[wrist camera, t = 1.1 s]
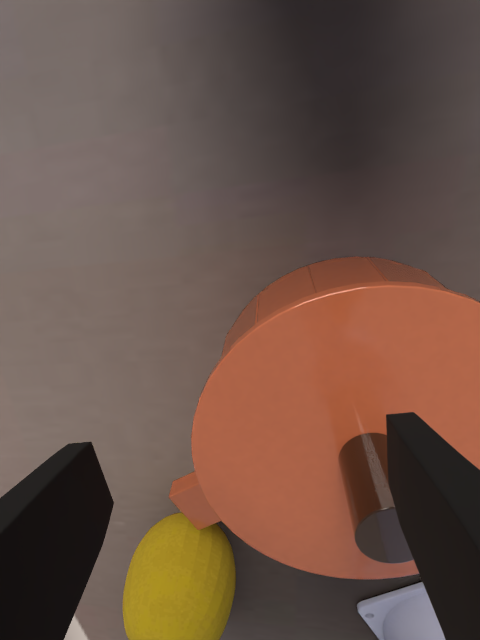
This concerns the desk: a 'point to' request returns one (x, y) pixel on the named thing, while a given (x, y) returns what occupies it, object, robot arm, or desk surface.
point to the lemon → (179, 583)
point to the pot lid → (335, 420)
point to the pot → (268, 301)
